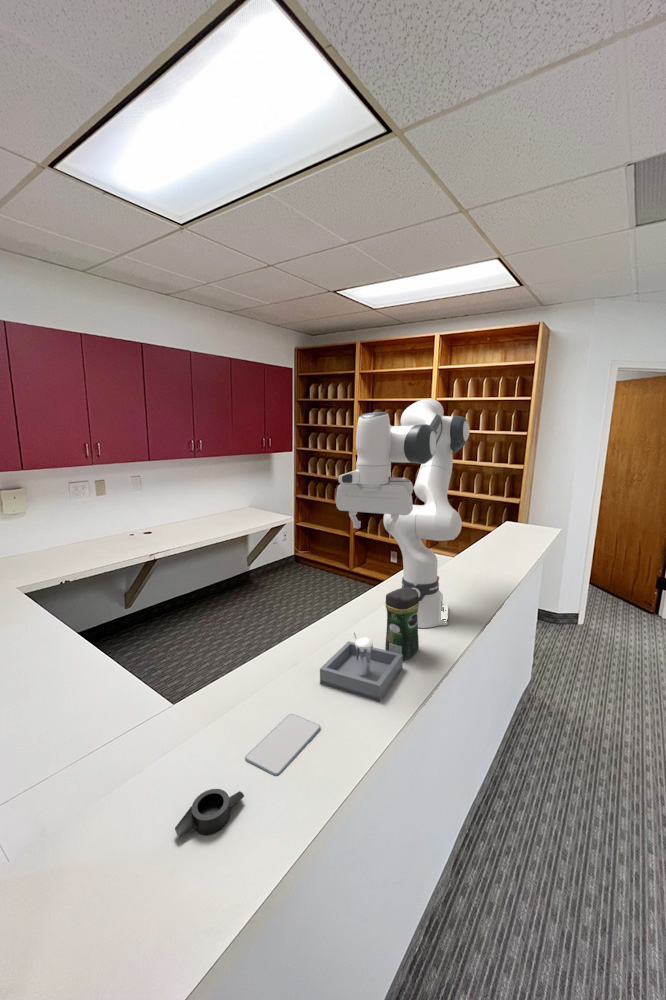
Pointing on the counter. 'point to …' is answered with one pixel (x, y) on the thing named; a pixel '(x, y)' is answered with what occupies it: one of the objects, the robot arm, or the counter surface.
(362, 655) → the milkshake
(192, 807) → the black wing nut
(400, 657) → the tray
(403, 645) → the coffee jar
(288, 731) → the smartphone
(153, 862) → the counter surface
